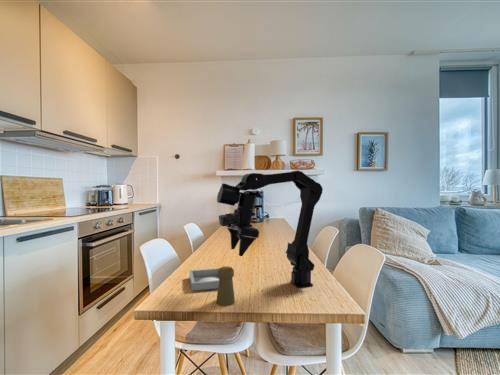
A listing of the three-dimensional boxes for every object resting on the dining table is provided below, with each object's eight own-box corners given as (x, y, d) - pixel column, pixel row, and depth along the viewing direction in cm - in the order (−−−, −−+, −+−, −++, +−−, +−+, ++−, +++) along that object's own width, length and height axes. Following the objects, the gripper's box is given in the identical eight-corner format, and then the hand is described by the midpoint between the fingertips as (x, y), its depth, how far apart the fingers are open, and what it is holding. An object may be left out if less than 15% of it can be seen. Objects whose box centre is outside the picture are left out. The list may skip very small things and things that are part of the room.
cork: (225, 295, 84) (226, 263, 84) (238, 301, 80) (239, 267, 80) (212, 302, 79) (212, 267, 79) (225, 308, 75) (226, 272, 75)
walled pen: (223, 274, 104) (223, 267, 104) (231, 288, 90) (231, 279, 90) (189, 277, 100) (189, 270, 100) (191, 292, 86) (191, 283, 86)
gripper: (217, 202, 93) (208, 243, 92) (231, 206, 76) (220, 256, 74) (244, 207, 97) (236, 247, 96) (264, 212, 79) (254, 261, 78)
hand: (236, 252), depth 86 cm, fingers open, 9 cm apart
